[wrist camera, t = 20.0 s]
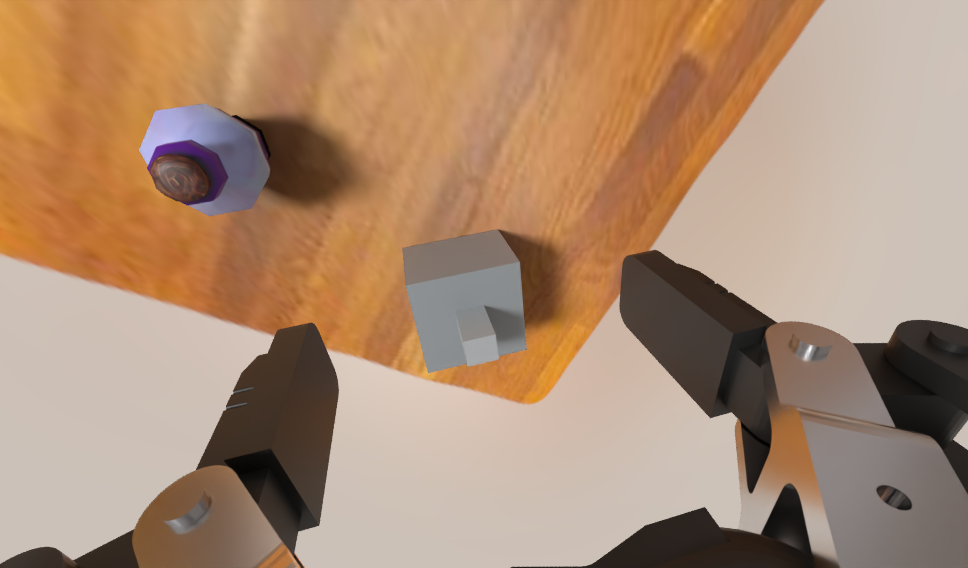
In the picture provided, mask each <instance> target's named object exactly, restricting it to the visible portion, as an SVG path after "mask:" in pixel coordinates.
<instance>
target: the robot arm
mask: <svg viewBox="0 0 968 568" xmlns="http://www.w3.org/2000/svg"><path fill="white" fill-rule="evenodd" d="M620 313H621V316H622V319H623V321H624V323H625V325H626V326H627V328H628V329H629V330H630V331H631V332H632V333H633V334H634V335H635V336H636V338H637V339H639V341H640V342H641V343H642V344H643V345H644V346H645V347H646V348H647V349H648V351H649V352H650V353H651V354H652V355H653V356H654V357H655V358H656V359H657V360H658V362H659V363H660V364H661V365H662V366H663V367H664V368H665V369H666V370H667V371H668V372H669V374H670V375H671V376H672V377H673V378H674V379H675V380H676V381H677V382H678V383H679V384H680V385H681V387H682V388H683V389H684V390H685V391H686V392H687V393H688V394H689V395H690V396H691V398H692V399H693V400H694V401H695V402H696V403H697V404H698V405H699V406H700V407H701V409H703V411H704V412H705V413H706V414H707V415H708V416H709V417H710V418H712V417H715V416H719V415H723V414H727V413H730V412H732V413H733V414H734V415H735V416H736V417H737V418H738V419H737V422H736V425H735V437H736V449H737V460H738V470H739V481H740V494H741V518H740V524H739V529H730V528H723V527H722V528H721V527H719V526H718V525H717V523H716V522H715V520H714V519H713V518H712V516H711V515H710V514H709V512H708V511H707V509H706V508H705V507H704V508H701V509H697V510H694V511H691V512H688V513H684V514H681V515H678V516H675V517H672V518H669V519H665V520H662V521H659V522H655V523H652V524H649V525H646V526H644V527H643V528H641V529H640V530H639V531H637V532H636V533H635V534H633V535H632V536H630V537H629V538H628V539H626V540H625V541H624V542H622V543H621V544H619V545H618V546H617V547H615V548H614V549H613V550H611V551H610V552H608V553H607V554H606V555H604V556H603V557H602V558H600V559H599V560H597V561H596V562H595V563H593V564H591V565H588V566H583V567H511V568H968V450H967V449H965V448H964V447H963V446H961V445H960V444H958V443H957V442H955V441H954V440H953V439H954V437H955V436H956V435H957V433H958V432H959V431H960V430H961V428H962V427H963V426H964V424H965V423H966V422H967V420H968V329H966V328H963V327H959V326H956V325H952V324H948V323H943V322H937V321H930V320H911V321H906V322H903V323H901V324H899V325H898V326H897V327H896V329H895V331H894V333H893V335H892V337H891V339H890V340H889V342H888V343H851V342H850V341H849V340H848V339H846V338H845V337H843V336H841V335H840V334H838V333H836V332H834V331H832V330H829V329H827V328H824V327H821V326H817V325H813V324H809V323H803V322H780V323H777V322H775V321H774V320H772V319H771V318H769V317H768V316H766V315H765V314H763V313H762V312H760V311H759V310H757V309H755V308H754V307H752V306H751V305H749V304H748V303H746V302H745V301H743V300H742V299H740V298H739V297H737V296H736V295H734V294H733V293H728V290H726V289H725V288H724V287H722V286H721V285H719V284H715V283H714V281H713V280H711V279H710V278H709V277H707V276H706V275H704V274H703V273H701V272H699V271H697V270H694V269H692V268H689V267H686V266H683V265H680V264H676V263H675V262H674V261H672V260H671V259H669V258H668V257H666V256H665V255H663V254H662V253H661V252H659V251H657V250H652V251H647V252H642V253H638V254H633V255H629V256H627V257H625V259H624V261H623V267H622V279H621V292H620ZM233 392H234V394H233V395H231V397H230V399H229V401H228V403H227V405H226V410H225V411H223V414H222V416H221V418H220V420H219V422H218V424H217V426H216V428H215V430H214V433H213V435H212V437H211V439H210V441H209V443H208V445H207V447H206V450H205V452H204V454H203V456H202V458H201V460H200V462H199V464H198V467H197V469H196V470H195V471H193V472H191V473H189V474H187V475H185V476H183V477H182V478H180V479H178V480H177V481H175V482H174V483H172V484H171V485H170V486H168V487H167V488H166V489H165V490H163V491H162V492H161V493H160V494H159V495H158V496H157V497H156V498H155V499H154V500H153V501H152V502H151V503H150V504H149V506H148V507H147V508H146V510H145V511H144V512H143V514H142V515H141V517H140V518H139V520H138V523H137V524H136V526H135V529H134V530H132V531H130V532H128V533H126V534H124V535H122V536H120V537H118V538H116V539H114V540H112V541H110V542H108V543H107V544H104V545H102V546H100V547H98V548H97V549H95V550H93V551H91V552H89V553H87V554H85V555H83V556H81V557H79V558H77V559H75V560H71V559H70V558H69V557H67V556H66V555H65V554H63V553H62V552H61V551H59V550H57V549H56V548H52V547H40V548H36V549H32V550H29V551H26V552H23V553H21V554H19V555H16V556H14V557H12V558H10V559H8V560H6V561H5V562H3V563H1V564H0V568H305V567H304V566H303V564H302V563H301V561H300V560H299V558H298V557H297V555H296V554H295V553H294V550H295V546H296V540H297V535H298V531H302V530H305V529H309V528H312V527H316V526H319V524H320V517H321V510H322V503H323V497H324V489H325V483H326V476H327V470H328V463H329V455H330V449H331V442H332V436H333V428H334V422H335V415H336V408H337V402H338V394H339V389H338V380H337V375H336V372H335V369H334V366H333V364H332V362H331V359H330V357H329V355H328V352H327V350H326V348H325V345H324V343H323V340H322V338H321V336H320V333H319V331H318V329H317V327H316V326H315V324H313V323H307V324H303V325H298V326H293V327H289V328H284V329H280V330H278V331H277V332H276V335H275V337H274V339H273V342H272V344H271V347H270V349H269V351H268V354H263V355H259V356H257V357H256V359H255V360H254V361H253V362H252V363H251V364H250V365H249V366H248V367H247V368H246V369H245V370H244V371H243V372H242V373H241V375H240V378H239V380H238V382H237V384H236V386H235V388H234V390H233Z"/></svg>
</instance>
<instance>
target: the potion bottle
mask: <svg viewBox="0 0 968 568" xmlns="http://www.w3.org/2000/svg"><path fill="white" fill-rule="evenodd" d="M139 151H140V153H141V154H142V156H143V158H144V160H145V162H146V163H147V165H148V167H147V169H148V171H149V173H150V174H151V176H152V178H153V181H154V183H155V186H156V189H158V190H159V191H160V192H161V193H163V194H164V195H165V196H167V197H169V198H171V199H173V200H175V201H180V202H182V203H184V204H186V205H188V206H190V207H192V208H194V209H196V210H198V211H200V212H202V213H204V214H207V215H209V216H213V215H218V214H224V213H229V212H235V211H240V210H246V209H251V208H252V207H253V205H254V203H255V202H256V200H257V198H258V196H259V194H260V192H261V190H262V189H263V187H264V185H265V183H266V181H267V179H268V177H269V175H270V164H269V162H268V159H269V157H270V155H271V154H270V151H269V149H268V146H267V144H266V141H265V138H264V136H263V133H262V131H261V130H260V129H258V128H257V127H255V126H253V125H252V124H250V123H248V122H247V121H245V120H244V119H242V118H240V117H239V116H237V115H234V116H231V115H229V114H227V113H226V112H224V111H222V110H221V109H218V108H215V107H212V106H209V105H207V104H199V105H192V106H186V107H179V108H172V109H165V110H159V111H155V113H154V116H153V118H152V120H151V123H150V125H149V128H148V130H147V133H146V135H145V137H144V140H143V142H142V145H141V147H140V149H139Z"/></svg>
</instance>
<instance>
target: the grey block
mask: <svg viewBox="0 0 968 568" xmlns="http://www.w3.org/2000/svg"><path fill="white" fill-rule="evenodd" d="M403 260H404V272H405V283H406V289H407V293H408V297H409V300H410V304H411V308H412V312H413V316H414V320H415V324H416V328H417V332H418V335H419V339H420V343H421V347H422V351H423V355H424V359H425V363H426V366H427V370H428V373H430V372H435V371H439V370H443V369H447V368H451V367H456V366H460V365H464V364H467V365H468V367H469V366H473V365H477V364H481V363H485V362H490V361H494V360H498V359H499V357H498V356H502V355H506V354H510V353H514V352H518V351H523V350H527V349H526V336H525V323H524V310H523V297H522V284H521V271H520V261H519V260H518V259H517V257H516V256H515V254H514V253H513V251H512V250H511V248H510V247H509V245H508V244H507V242H506V241H505V239H504V238H503V236H502V235H501V233H500V232H499V230H498V229H497V230H492V231H487V232H482V233H477V234H472V235H467V236H462V237H457V238H451V239H446V240H441V241H436V242H431V243H426V244H421V245H416V246H411V247H406V248H403Z"/></svg>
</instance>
